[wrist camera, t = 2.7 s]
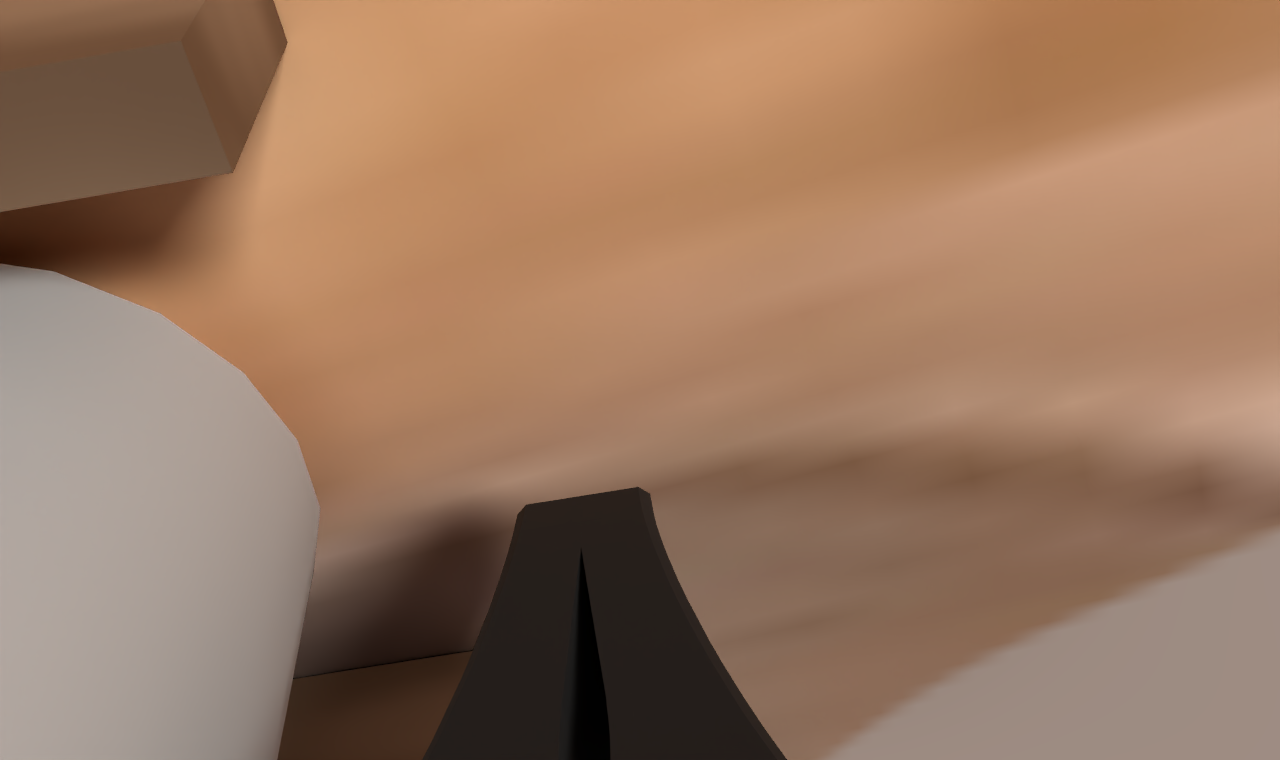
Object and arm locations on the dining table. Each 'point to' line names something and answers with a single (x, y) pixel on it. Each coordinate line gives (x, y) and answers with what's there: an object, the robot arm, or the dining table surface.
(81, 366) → the can
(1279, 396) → the dining table surface
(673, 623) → the robot arm
